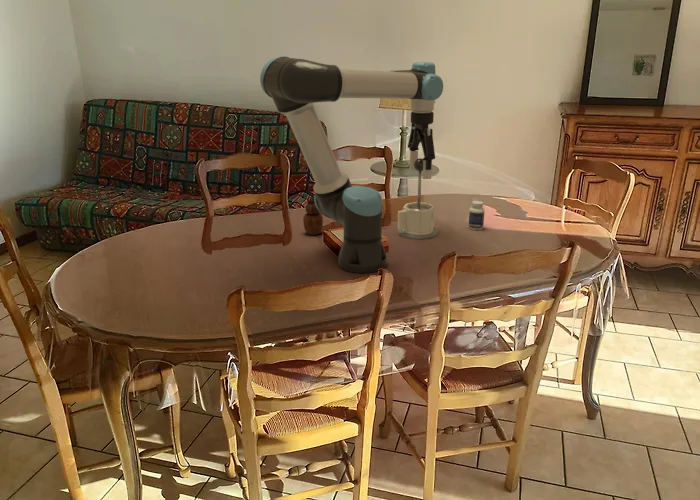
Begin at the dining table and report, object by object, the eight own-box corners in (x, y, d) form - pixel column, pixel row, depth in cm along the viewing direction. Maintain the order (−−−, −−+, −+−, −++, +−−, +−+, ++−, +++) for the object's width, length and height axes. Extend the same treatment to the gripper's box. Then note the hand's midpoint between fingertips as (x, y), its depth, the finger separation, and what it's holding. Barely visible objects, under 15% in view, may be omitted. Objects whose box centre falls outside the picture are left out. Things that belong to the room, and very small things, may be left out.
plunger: (414, 214, 203) (416, 161, 196) (404, 208, 209) (406, 157, 202) (432, 211, 206) (435, 159, 199) (422, 206, 212) (424, 155, 205)
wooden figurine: (324, 231, 212) (323, 190, 207) (321, 236, 207) (320, 195, 202) (305, 230, 213) (304, 190, 208) (302, 236, 208) (301, 194, 202)
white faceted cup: (407, 241, 201) (408, 215, 198) (389, 229, 213) (389, 204, 210) (445, 235, 207) (446, 209, 203) (424, 223, 219) (425, 199, 215)
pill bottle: (484, 230, 212) (486, 204, 208) (469, 230, 212) (471, 204, 208) (481, 225, 217) (483, 200, 213) (466, 225, 217) (468, 200, 213)
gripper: (447, 116, 184) (444, 182, 192) (420, 105, 207) (418, 165, 215) (424, 117, 183) (422, 183, 190) (399, 106, 205) (398, 166, 213)
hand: (420, 174), depth 203 cm, fingers open, 13 cm apart
